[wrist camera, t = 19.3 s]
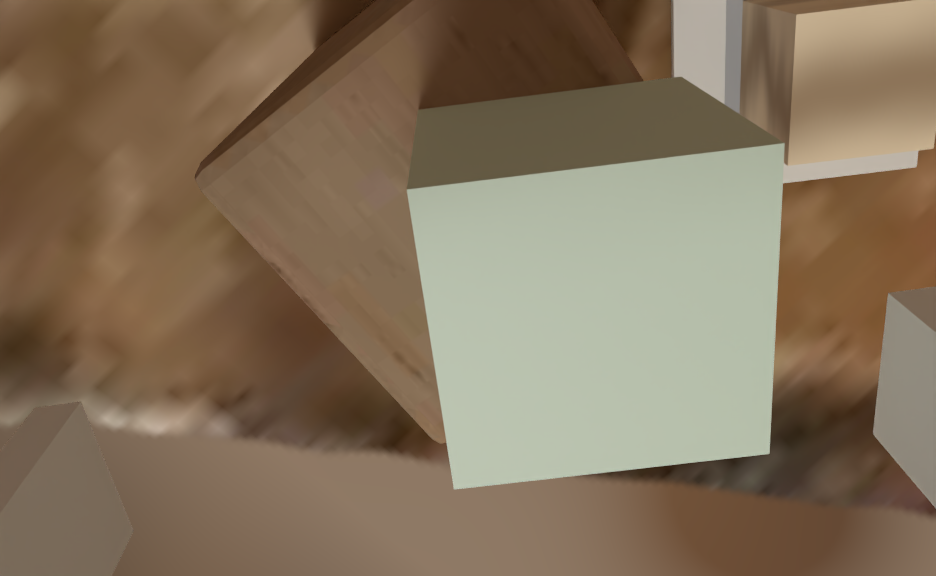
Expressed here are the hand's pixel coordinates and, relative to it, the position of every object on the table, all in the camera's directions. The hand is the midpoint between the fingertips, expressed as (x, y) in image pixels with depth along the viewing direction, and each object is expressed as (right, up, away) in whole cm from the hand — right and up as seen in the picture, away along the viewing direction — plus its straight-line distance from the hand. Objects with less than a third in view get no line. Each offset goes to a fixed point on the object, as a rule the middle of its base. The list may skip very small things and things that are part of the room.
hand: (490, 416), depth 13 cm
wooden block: (-1, +12, +24) cm, 27 cm away
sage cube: (+2, +4, +6) cm, 7 cm away
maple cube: (+15, +13, +24) cm, 31 cm away
